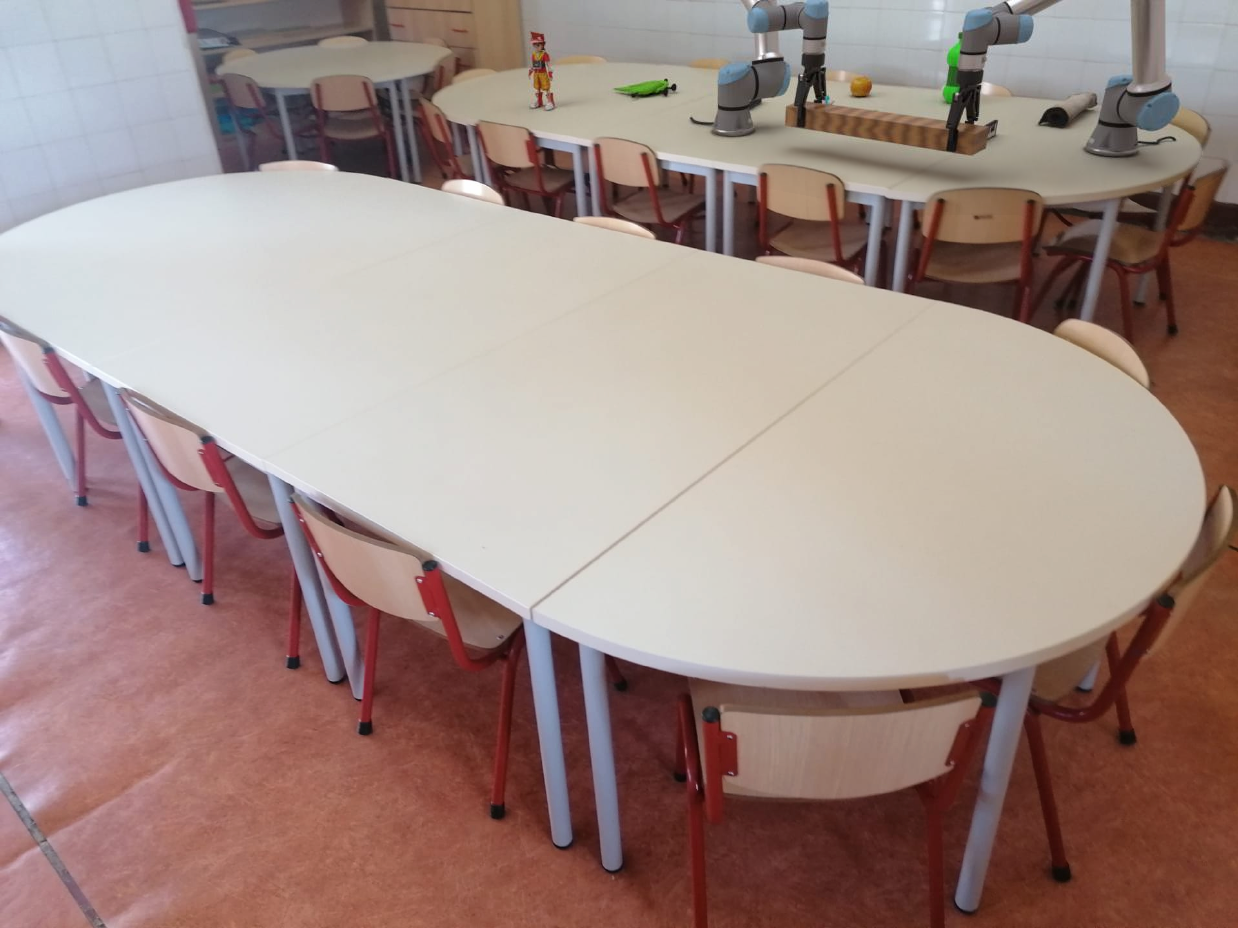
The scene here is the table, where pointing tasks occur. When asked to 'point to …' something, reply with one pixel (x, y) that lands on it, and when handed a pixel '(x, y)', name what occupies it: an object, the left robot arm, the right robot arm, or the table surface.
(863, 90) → the fruit
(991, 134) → the midi keyboard
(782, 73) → the left robot arm
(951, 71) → the plastic bottle
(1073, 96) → the rolled mat
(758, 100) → the disk drive
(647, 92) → the toy
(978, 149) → the wide beam
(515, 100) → the table surface
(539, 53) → the toy
